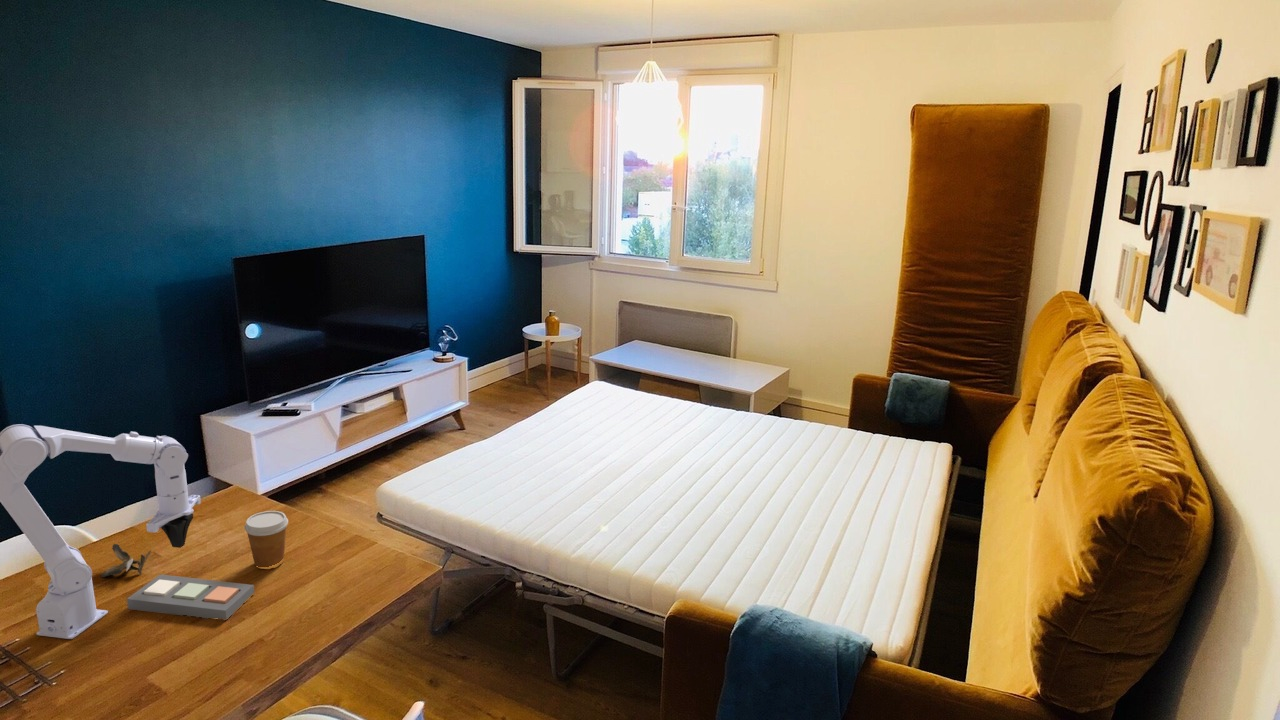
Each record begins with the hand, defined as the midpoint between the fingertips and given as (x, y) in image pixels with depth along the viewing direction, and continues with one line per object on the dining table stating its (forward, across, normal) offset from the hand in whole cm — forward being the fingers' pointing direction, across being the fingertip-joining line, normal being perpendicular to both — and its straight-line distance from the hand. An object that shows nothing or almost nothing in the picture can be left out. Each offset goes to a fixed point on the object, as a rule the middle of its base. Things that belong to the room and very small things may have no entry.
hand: (178, 545), depth 166 cm
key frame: (+10, -5, -6) cm, 13 cm away
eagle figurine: (+11, +3, +16) cm, 20 cm away
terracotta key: (+10, -5, -13) cm, 17 cm away
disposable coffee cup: (+11, +13, -13) cm, 21 cm away
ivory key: (+10, -5, +1) cm, 11 cm away
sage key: (+10, -5, -6) cm, 13 cm away
